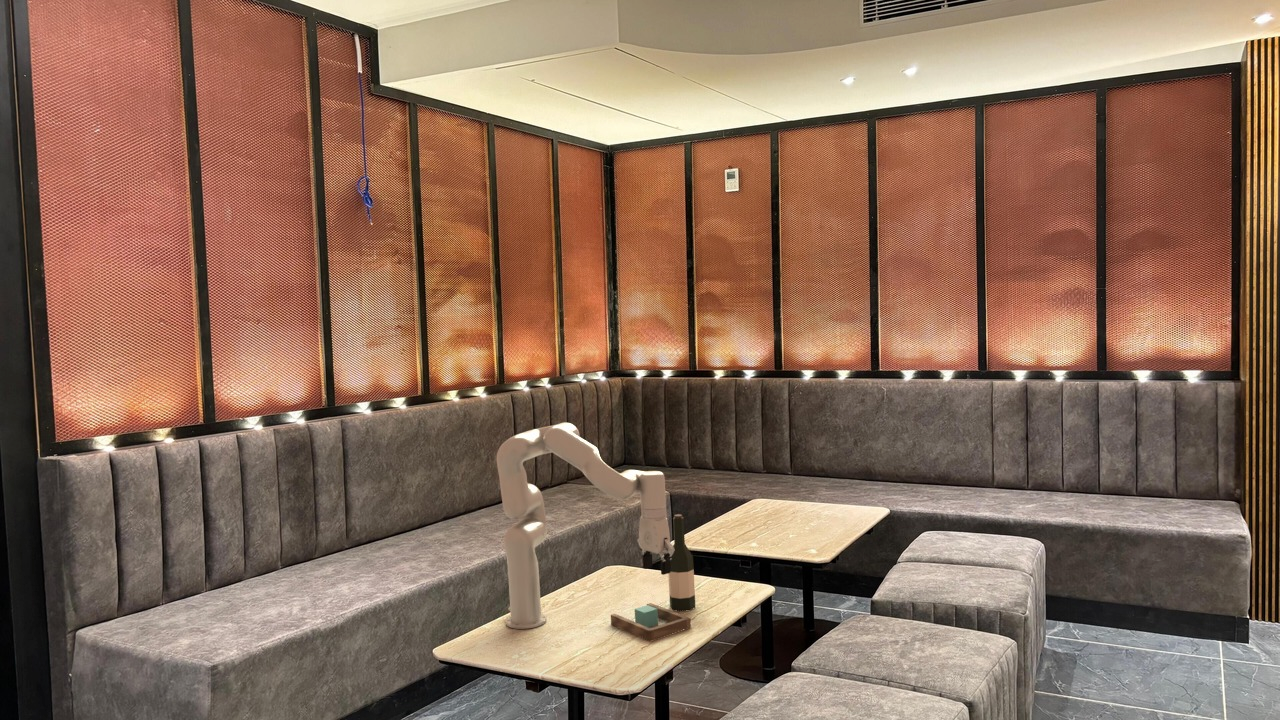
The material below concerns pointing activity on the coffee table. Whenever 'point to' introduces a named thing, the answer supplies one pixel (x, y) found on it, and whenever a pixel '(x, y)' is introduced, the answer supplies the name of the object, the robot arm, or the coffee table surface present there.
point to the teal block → (646, 616)
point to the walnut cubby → (675, 625)
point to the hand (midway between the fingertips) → (656, 570)
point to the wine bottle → (681, 571)
